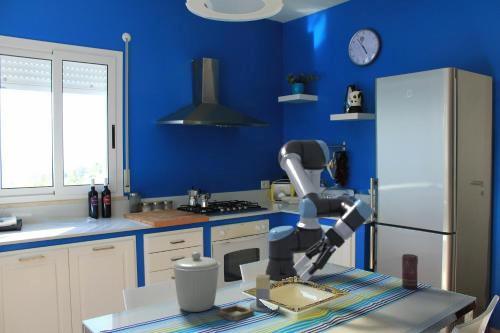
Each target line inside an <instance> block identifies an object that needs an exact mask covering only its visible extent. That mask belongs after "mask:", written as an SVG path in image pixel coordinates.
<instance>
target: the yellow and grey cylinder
mask: <svg viewBox="0 0 500 333" xmlns="http://www.w3.org/2000/svg"><path fill="white" fill-rule="evenodd" d="M255 286H256V287H255V290H256V294H255V296H256V298H255V299H256V301H255V302H256V307H260V308H268V307H267V306H265V305H264V304H263V303H262V302H261V301H260V300H259V299H268V300H269V299H270V300H271V279H270V275H266V274H257V275H256V278H255Z"/></svg>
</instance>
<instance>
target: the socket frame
mask: <svg viewBox="0 0 500 333" xmlns="http://www.w3.org/2000/svg"><path fill="white" fill-rule="evenodd" d="M233 311H238V312H240V313H237V314H233V313H231V312H233ZM253 315H255V311H254V310H251V309H250V308H249V307H246V306H242V305H238V304H233V305H230V306H228V307H223V308H221V309H218V310H216V316H219V317H221V318H224V319H226V320H230V321H232V322H236V321H239V320H243V319H245V318H248V317H251V316H253Z"/></svg>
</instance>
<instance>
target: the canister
mask: <svg viewBox="0 0 500 333" xmlns="http://www.w3.org/2000/svg"><path fill="white" fill-rule="evenodd" d="M220 266H221V262H220V261H218V260H216V259H215V258H212V257H207V256H202V253H201V252H199V251H193V252H192V253H191V257H184V258H180V259H178V260H176V261H175V262H174V263H172V265H171V268H172V269H173V274H174V283H175V293H176V298H177V303H178V306H179V308H180V309H181V310H183V311H185V312H189V313H199V312H205V311H208V310H210V309H212V308H213V306H214V305H215V301H216V296H217V288H218V277H219V276H218V275H219V268H220Z"/></svg>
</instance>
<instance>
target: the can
mask: <svg viewBox="0 0 500 333" xmlns="http://www.w3.org/2000/svg"><path fill="white" fill-rule="evenodd" d="M401 263H402V264H401V271H402V272H401V273H402V274H401V281H402V282H401V285H402V289H405V290H411V291H414V290H415V291H416V290H417V289H418V264H419V258H418V255H417V254H416V255H415V254H411V253H410V254H409V253H406V254H403V255H402V256H401Z"/></svg>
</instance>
